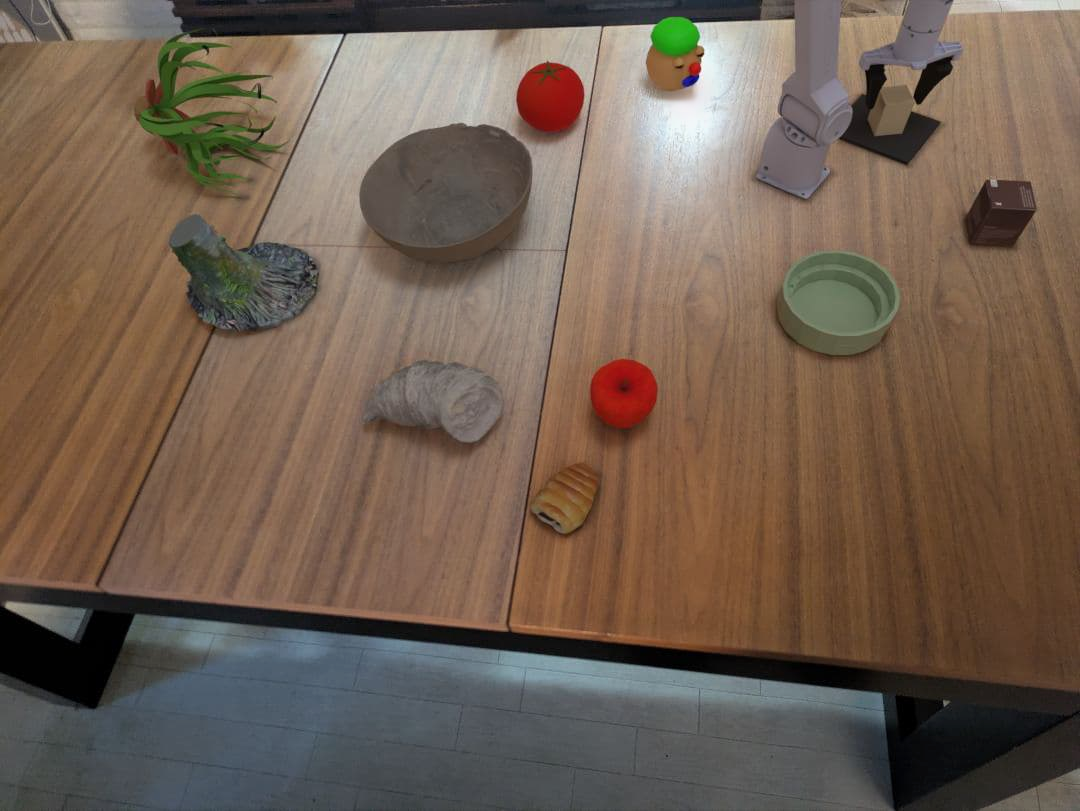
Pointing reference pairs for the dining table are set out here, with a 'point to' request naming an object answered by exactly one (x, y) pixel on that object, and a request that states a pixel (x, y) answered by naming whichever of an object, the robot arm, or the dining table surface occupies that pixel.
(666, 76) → the figurine
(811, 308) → the green bowl
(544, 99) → the tomato
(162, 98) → the decorative plant
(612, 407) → the apple
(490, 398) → the seashell
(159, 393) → the dining table surface
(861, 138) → the mat
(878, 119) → the block
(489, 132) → the bowl
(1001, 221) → the box
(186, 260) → the tree stump
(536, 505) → the pastry
